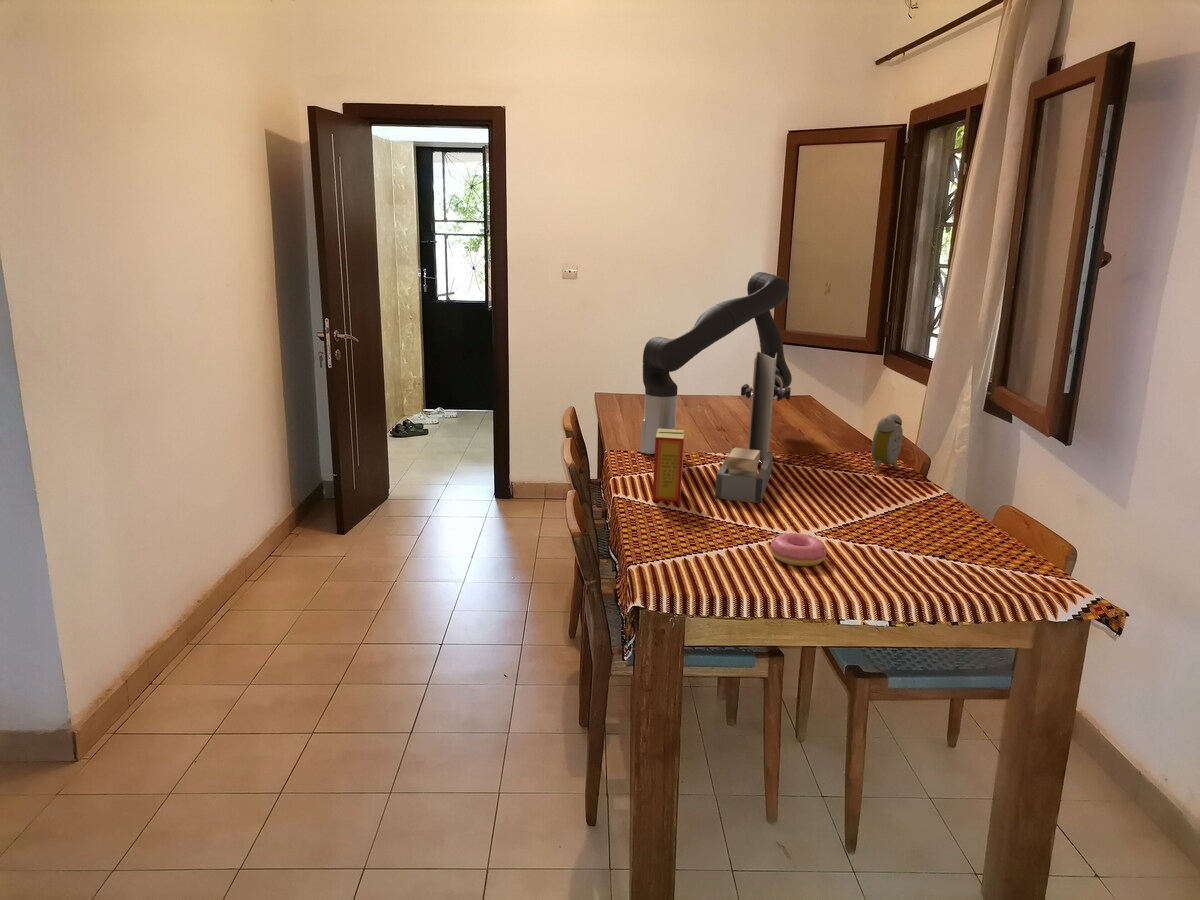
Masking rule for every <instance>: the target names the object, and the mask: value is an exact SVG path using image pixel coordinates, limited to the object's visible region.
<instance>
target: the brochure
mask: <svg viewBox="0 0 1200 900" xmlns="http://www.w3.org/2000/svg"><path fill="white" fill-rule="evenodd" d="M776 360H777V353H776V355H775V359H774V358H771V357H769V356H767V355H765V354H763V353H761V351H757V352H756V354H755V357H754V363H753V377H752V386H753V387H752V386H751V387H752V391H751V393H752V396H751V402H750V403H751V404H750V413H749V414H750V415H749V416H750V417H749V430H748V441H747V442H748V445H747V449H752V450H760V459H759V460H760V461H761V462H762V463H763V461H764V459H765V457H766V454H767V452H770V445H771V443H770V442H771V431H772V430H771V429H772V419H773V407H774V405H773V404H774V400H773V397H774V384H775V372H776ZM761 462H760V463H761ZM762 463H761V464H762Z"/></svg>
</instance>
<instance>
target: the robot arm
mask: <svg viewBox="0 0 1200 900" xmlns="http://www.w3.org/2000/svg"><path fill="white" fill-rule="evenodd" d="M746 288H747V289H746V290H747V291H746V292H747V295H746V296H741V297H737V298H732V299H727V300H723V301H721V302H718V303H716V304H715V305H713V306H711V307H710V308H708V309H706V310H705V311H704V312H702V314H701V315H700V316H699V317H698V318H697V320H696V322H695V324H694V325H693V327H692V328H691V329H690V330H689V331H687V332H685V333H684V334H681V335H680V336H678V337H675V338H669V337H668V338H667V337H662V336H654V337H652V338H650V339H648V341H647V342H646V343H645V346H644V347H643V353H642V383H643V386H644V391H645V392H644V407H643V408H644V409H643V410H644V411H643V412H644V414H643V419H642V421H641V435H640V436H641V437H640V454H641V453H643V454H647V455H650V454H655V439H656V434H657V430H658V428H663V429H676V424H677V422H676V420H677V405H678V403H677V402H678V385H677V384H676V382H675V381H674V380H673V379H672V378H671V375H670V373H672V372H676V371H677V370H679V369H681V368H682V367H683V366H685V365H686V364H687V363H688V362H690V361H691V360H692V359H693V358H694V357H696V356H697V355H698V354H700V353H701V352H702V351H703V350H705V349H708V347H710V346H712V345H713V344H715V343H716V342H718V341H720V340H721V339H723V338H725V337H726V336H728V335H729V334H731V333H733V332H734V331H735V330H737V329H739V328H740V327H741V326H743V325H744V324H746V323H748V322H750V321H751V320H753V319H754V321H755V325H756V329H757V334H758V338H759V347H760V352H761V353H763V354H765V355H767V356H769V357H771V358H774V359H775V355H776V353H777V360H776V372H775V384H774V397H773V401H775V400H776V401H778V402H780V401H782V400H785V399H786V400H787V401H788V400H791V390H792V388H791V387H790V386H791V384H792V381H793V380H792V379H793V378H792V373H791V371H790V368H789V366H788V364H787V362H786V358H785V355H784V354H785V353H784V342H783V336H782V333H781V331H780V329H779V328H778V327H779V326H778V325H777V323H776V321H775V319H774V318H773V315H772V312H771V310H772V309H774V308H777V307H778V306H780V305H781V304H782V303H783V302H784V301H785V300H786V298H787V296H788V295H789V291H790V286H789V283H788V281H787V280H786V279H785V278H783V277H781V276H779V275H776V274H772V273H767V272H763V271H758V272H755V273H754V274H752V275H751V277H750V278H749V279H748V282H747V287H746ZM752 387H753V385H752V386H750V385H749V384H748V383H744V384H743V385H742V386H741V389H740V396H741V397H744V396H745V397H746V398H747V399H750V398H752ZM784 398H785V399H784Z"/></svg>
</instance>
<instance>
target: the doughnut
mask: <svg viewBox="0 0 1200 900" xmlns="http://www.w3.org/2000/svg"><path fill="white" fill-rule="evenodd" d="M770 551H771V554H772V555H773V557H774V558H775V559H776V560H778V561H779V562H781V563H783V564H786V565H790V566H794V567H795V566H796V567H813V566H816V565H819V564H821V563H822V562H823V561H824V560H825V558H826V555H827V554H828V551H827V547H826V545H825V544H824V542H823V541H822V540H821V539H819V538H817V537H816V536H812V535H810V534H805V533H799V532H797V533H795V532H788V533H786V532H784V533H782V534H778V535H777V536H775V537H774V538H773V539H771V543H770Z"/></svg>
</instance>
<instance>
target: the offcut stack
mask: <svg viewBox="0 0 1200 900" xmlns="http://www.w3.org/2000/svg"><path fill="white" fill-rule="evenodd" d="M728 454H729V453H728ZM728 454H727V456H726V457H727V467H726V468H727V469H729V474H734V475H743V476H751V477H757V476H758V467H759V466H758V465H759V463H760V462H759V459H760V450H752V449H748V448H742V447H734V449H733V450H732V452H731V453H730V454H729V455H728Z"/></svg>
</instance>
